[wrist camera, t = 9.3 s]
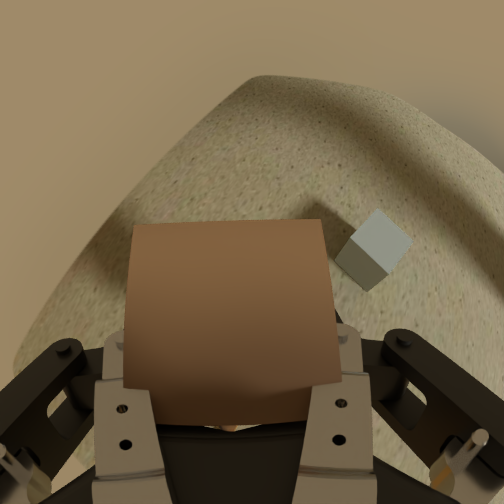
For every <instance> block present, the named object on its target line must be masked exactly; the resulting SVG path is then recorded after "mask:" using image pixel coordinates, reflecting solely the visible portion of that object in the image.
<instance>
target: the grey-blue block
mask: <svg viewBox="0 0 504 504" xmlns="http://www.w3.org/2000/svg"><path fill="white" fill-rule="evenodd" d="M412 243H413V240H412V239H411V238H410V237H409V236H408V235H407V234H406V233H405V232H403V231H402V230H401V229H400V228H399V227H398V226H397V225H396V224H395V223H394V222H393V221H392V220H391V219H389V218H388V217H387V216H386V215H385V214H384V213H383V212H382V211H381V210H379V209H378V208H377V209H376V210H375V211H374V212H373V213H372V215H371V216H370V217H369V218H368V219H367V220H366V221H365V222H364V223H363V224H362V225H361V226H360V227H359V228H358V229H357V230H356V232H355V233H354V234H353V235H352V236H351V237H350V238H349V239H348V241H347V242H346V244H345V245H344V247H343V248H342V250H341V251H340V253H339V254H338V255H337V257H336V258H335V260H334V261H335V262H336V263H337V264H338V265H339V266H340V267H341V268H342V269H343V270H345V271H346V272H347V273H348V274H349V275H350V276H351V277H352V278H353V279H354V280H355V281H356V282H357V283H358V284H359V285H360V286H361V287H362V288H363V289H364V290H365V291H366V292H368V291H369V290H370V289H372V288H373V287H374V286H375V285H377V284H378V283H379V282H380V281H381V280H383V279H384V278H385V277H386V276H387V275H389V274H390V272H391V271H392V270H393V268H394V267H395V266H396V264H397V263H398V262H399V260H400V259H401V258H402V256H403V255H404V254H405V252H406V251H407V250H408V248H409V247H410V246H411V244H412Z"/></svg>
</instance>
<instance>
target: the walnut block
mask: <svg viewBox="0 0 504 504" xmlns="http://www.w3.org/2000/svg"><path fill="white" fill-rule="evenodd" d="M339 382H342V373H341V362H340V351H339V342H338V333H337V324H336V316H335V308H334V300H333V293H332V285H331V279H330V272H329V265H328V259H327V253H326V246H325V240H324V235H323V229H322V223H321V219H280V220H238V221H208V222H183V223H162V224H143V225H134V229H133V236H132V243H131V251H130V260H129V269H128V279H127V290H126V304H125V320H124V343H123V388H127V389H138V390H149V393H150V397H151V401H152V405H153V408H154V412H155V416H156V420H157V423H158V424H169V425H191V426H235V425H258V424H272V423H284V422H294V421H303V420H307V417H308V411H309V405H310V399H311V393H312V387H313V386H316V385H324V384H331V383H339Z"/></svg>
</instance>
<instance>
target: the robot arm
mask: <svg viewBox="0 0 504 504" xmlns="http://www.w3.org/2000/svg"><path fill="white" fill-rule="evenodd" d="M335 316H336V324H337V333H338V342H339V351H340V362H341V373H342V382H339V383H331V384H324V385H316V386H313V387H312V393H311V399H310V405H309V411H308V417H307V420H303V421H294V422H284V423H272V424H262V425H258V426H254V427H250V428H246V429H242V430H238V431H225V430H220V429H215V428H210V427H205V426H191V425H169V424H158V423H157V420H156V416H155V412H154V408H153V405H152V401H151V397H150V393H149V390H138V389H127V388H123V343H124V329H123V330H121V331H118V332H115V333H113V334H111V335H110V336H109V337H108V338H107V339H106V340H105V342H104V347H101V348H96V349H89V350H84V349H83V346H82V344H81V342H80V341H78V340H77V339H73V338H66V339H61V340H59V341H56V342H55V343H53V344H52V345H51V346H49V347H48V348H47V349H46V350H45V351H44V352H43V353H42V354H40V355H39V356H38V357H37V358H36V359H35V360H34V361H33V362H32V363H30V364H29V365H28V366H27V367H26V368H25V369H24V370H23V371H22V372H21V373H19V374H18V375H17V376H16V377H15V378H14V379H13V380H12V381H11V382H10V383H9V384H8V385H7V386H6V387H5V388H3V389H2V390H1V391H0V504H488V503H489V502H490V501H491V500H492V499H493V497H494V496H495V495H496V494H497V493H498V492H499V490H501V489H502V488H503V487H504V401H503V400H502V399H500V398H499V397H498V396H497V395H496V394H494V393H493V392H492V391H490V390H489V389H488V388H487V387H485V386H484V385H483V384H482V383H480V382H479V381H478V380H477V379H475V378H474V377H473V376H471V375H470V374H469V373H468V372H466V371H465V370H464V369H462V368H461V367H460V366H459V365H457V364H456V363H455V362H453V361H452V360H451V359H449V358H448V357H447V356H446V355H444V354H443V353H442V352H440V351H439V350H438V349H436V348H435V347H434V346H432V345H431V344H430V343H428V342H427V341H426V340H424V339H423V338H422V337H420V336H419V335H418V334H416V333H415V332H413V331H410V330H407V329H393V330H390V331H388V332H387V333H386V334H385V336H384V340H383V341H377V340H366V339H362V338H361V337H360V334H359V332H358V331H357V330H356V329H355V328H353V327H352V326H349V325H346V324H343V322H342V320H341V318H340V317H339V315H338V313H337V311H336V310H335ZM409 381H410V382H411V383H412V384H413V385H414V386H415V387H417V388H418V389H419V390H420V391H421V392H422V393H423V394H424V395H425V397H426V401H427V405H425V404H424V403H423V402H422V401H421V400H420V399H419V398H418V397H416V396H415V395H414V394H413V393H412V392H411V391H410V390H409V389H408V388H407V386H408V384H409ZM62 389H63V391H64V392H65V394H66V396H67V398H66V399H65V400H64V401H63V402H62V404H61V405H60V406H59V407H58V408H57V409H56V410H55V411H54V413H53V414H52V415H51V416H50V417H49V418H48V416H47V408H48V405H49V404H50V402H51V401H52V400H53V399H54V398H55V397H56V396H57V395H58V394H59V393H60V392H61V391H62ZM371 406H372V407H373V408H374V409H375V411H376V412H377V413H378V414H379V415H380V416H381V417H382V418H383V419H384V420H385V421H386V423H387V424H388V425H389V426H390V427H391V428H392V429H393V430H394V431H395V432H396V433H397V434H398V436H399V437H400V438H401V439H402V440H403V441H404V442H405V443H406V444H407V445H408V446H409V447H410V449H411V450H412V451H413V452H414V453H415V454H416V455H417V456H418V457H419V458H420V459H421V460H422V461H423V462H424V464H425V465H426V466H427V467H428V468H429V469H430V472H429V477H430V481H431V483H430V487H429V486H427V485H425V484H423V483H421V482H420V481H418V480H416V479H414V478H412V477H410V476H408V475H407V474H405V473H403V472H401V471H399V470H398V469H396V468H394V467H392V466H391V465H389V464H387V463H385V462H384V461H382V460H380V459H379V458H377V457H375V456H374V455H373V434H372V409H371ZM93 425H94V446H95V465H94V466H92V467H91V468H90V469H88V470H87V471H85V472H84V473H83V474H81V475H80V476H78V477H77V478H76V479H74V480H73V481H71V482H70V483H68V484H67V485H65V486H64V487H62V488H61V489H59V490H58V491H56V492H55V493H53V494H52V493H51V489H52V486H51V481H52V480H53V479H54V477H55V476H56V475H57V473H58V472H59V470H60V469H61V468H62V466H63V465H64V464H65V462H66V461H67V460H68V458H69V457H70V456H71V454H72V453H73V452H74V450H75V449H76V448H77V446H78V445H79V444H80V442H81V441H82V440H83V438H84V437H85V436H86V434H87V433H88V432H89V430H90V429H91V428H92V426H93Z"/></svg>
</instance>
